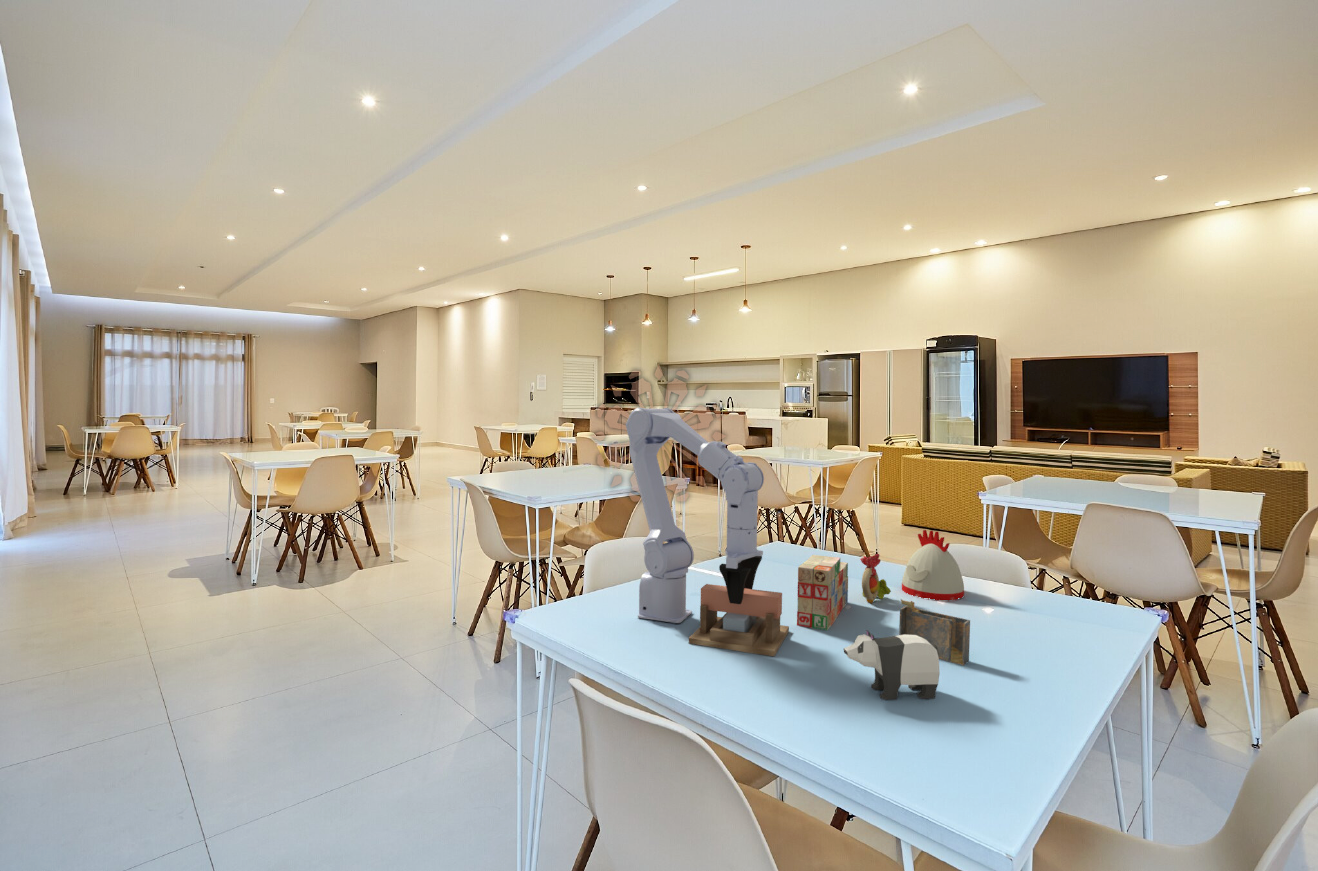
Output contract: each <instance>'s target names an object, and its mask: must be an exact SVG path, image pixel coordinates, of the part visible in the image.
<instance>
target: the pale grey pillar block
mask: <svg viewBox="0 0 1318 871" xmlns="http://www.w3.org/2000/svg"><path fill="white" fill-rule="evenodd" d="M726 613H727V612H726ZM755 622H756V616H750V615H742V614H735V613H727V615H726V616H725V617H724V618H723V629H724V630H731V631H738V632H745V633H748V632H749V630H750V629H751V628H752V626H753V625H754V624H755Z"/></svg>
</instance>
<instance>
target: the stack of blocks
mask: <svg viewBox="0 0 1318 871" xmlns="http://www.w3.org/2000/svg"><path fill="white" fill-rule="evenodd" d="M848 567H849V562H845V561H841V557H838V556H837V557H836V556H827V555H826V556H825V555H818V554H812V555H811V556H809V558H808V559H806V560H805V561H804V562H803V563H801V564H800V565H799V566H798V567H797V611H796V626H799V627H803V628H812V629H817V630H823V631H824V630H825V631H828V630H829V629H830V627H831V626H832V625H833V624H834V623H835V621H836V620H837V618H838V616H839V615H840V613H841V611H842V610H843V609H844V608H845V606H846V605H847V604H848V602H849V601H848V600H849V598H848V596H849V594H848V593H849V576H848V573H849V568H848Z"/></svg>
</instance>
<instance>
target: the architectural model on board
mask: <svg viewBox="0 0 1318 871" xmlns="http://www.w3.org/2000/svg"><path fill="white" fill-rule="evenodd" d="M900 603H901V604H902V605H904V606H903V607H901V608H899V625H898V626H899V628H898V632H899V633H898V635H905V634H906V635H917V636H919V637H922V638H924V639H926V640H927V641H928V642H929V643H932V644H935V645H936V646H937V648H938V653H939V655H938V657H939V659H940V660H943V661H947V662H950V663H953V664H958V665H961V666H966V664H968V662H970V640H971V638H970V636H971V635H970V634H971V630H970V629H971V620H970V619H967V618H963V617H958V616H953V615H948V614H943V613H940V612H934V611H930V610H925V609H922V608H917V607H915V602H914V601H913V600H910V601H908V600H903V599H902V598H900Z"/></svg>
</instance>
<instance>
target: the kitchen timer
mask: <svg viewBox="0 0 1318 871" xmlns="http://www.w3.org/2000/svg"><path fill="white" fill-rule="evenodd" d="M917 538H918V540H919V543H920V546H921V547H919V548H918V549H917V550H916V551H915V552H914V553H913V554H912V556H911V557H910V558H909V560H908V562H907V565H906V567H905V570H904V572H903V576H902V580H901V590H902V592H903V591H904V592H903V593H905V594H907V593H908V594H907V595H909V596H912V595H913V596H912V597H915V596H918V597H917V598H919V597H921V598H920V599H924V598H930V599H935V600H934V601H939V600H952V601H956V600H955V599H958V598H962V597H963V596H964V597H965V585H964V580H963V576H962V572H961V569H960V567H959V564H958V563H957V561H956V559H955V558H954V556H953V555H952V554H951V553H950V551H948V549H949V546H950V542H948V543H945V545H944V542H945V536H944V537H943V536H942V537H940V533H939V531H934V530H929V533H928V532H927V530H926V529H923V530H922V534H921V533H918V534H917ZM964 597H963V598H964ZM963 598H962V599H963Z"/></svg>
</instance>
